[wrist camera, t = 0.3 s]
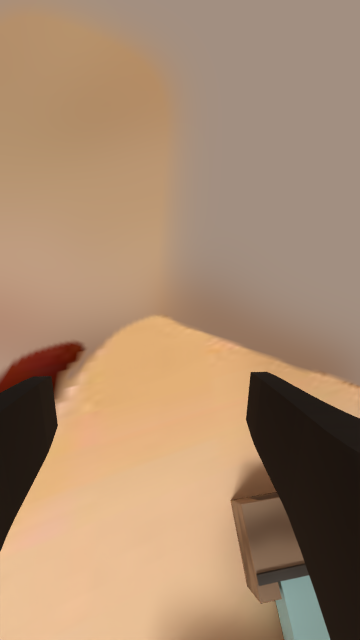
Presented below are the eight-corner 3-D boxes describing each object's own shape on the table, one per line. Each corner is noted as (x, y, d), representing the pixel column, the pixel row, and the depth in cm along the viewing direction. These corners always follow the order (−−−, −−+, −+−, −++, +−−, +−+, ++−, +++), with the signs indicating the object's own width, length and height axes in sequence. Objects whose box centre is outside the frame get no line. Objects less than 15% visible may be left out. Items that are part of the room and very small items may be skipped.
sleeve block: (387, 555, 33) (428, 570, 28) (247, 586, 31) (263, 607, 26) (357, 477, 37) (388, 477, 32) (230, 500, 35) (242, 504, 30)
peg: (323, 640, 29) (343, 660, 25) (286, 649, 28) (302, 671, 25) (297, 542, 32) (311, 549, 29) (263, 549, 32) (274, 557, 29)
